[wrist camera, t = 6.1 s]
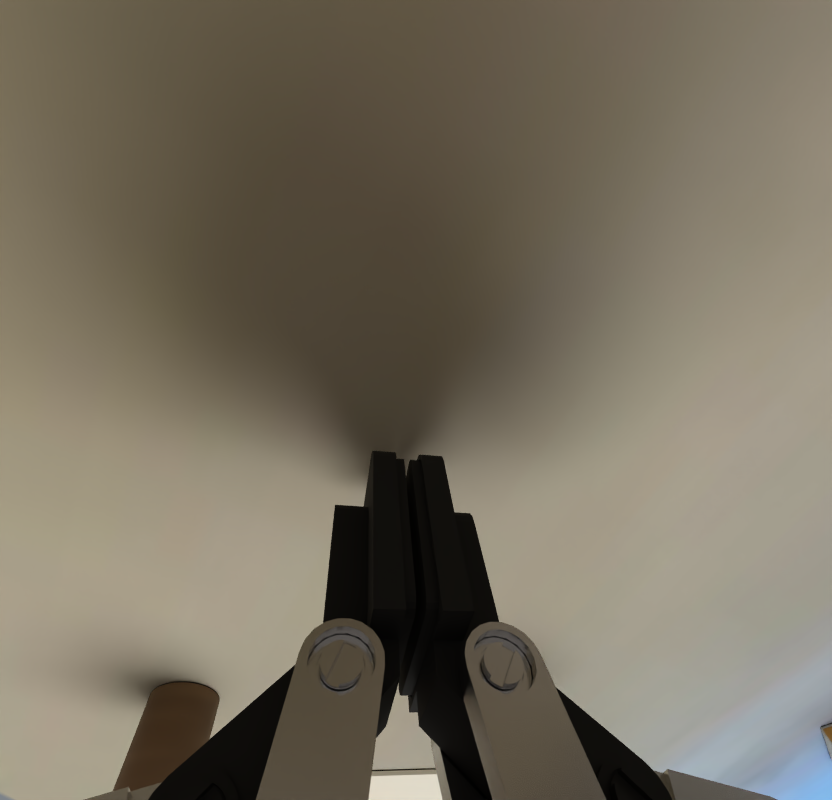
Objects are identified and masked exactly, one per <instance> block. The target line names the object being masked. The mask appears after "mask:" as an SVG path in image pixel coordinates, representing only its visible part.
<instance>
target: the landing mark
mask: <svg viewBox="0 0 832 800" xmlns="http://www.w3.org/2000/svg"><path fill="white" fill-rule="evenodd" d="M368 800H443V799H442V795H441V790H440V786H439V781H438V776H437V772H436V769H434V770H400V771H372V775H371V783H370V791H369V799H368Z"/></svg>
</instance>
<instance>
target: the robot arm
mask: <svg viewBox="0 0 832 800" xmlns="http://www.w3.org/2000/svg"><path fill="white" fill-rule="evenodd" d="M398 682H399V692H400V695H408V699H409V712H418V718H419V726H420V727H421V728H422V729H423V730H424V732H425V733H426V734H427V735H428V736H429V737H430V738H431V747H432V753H433V758H434V763H435V767H436V772H437V776H438V781H439V786H440V790H441V795H442V799H443V800H777V799H774V798H772V797H770V796H766V795H762V794H759V793H755V792H751V791H747V790H744V789H740V788H736V787H732V786H729V785H725V784H721V783H717V782H714V781H710V780H706V779H702V778H699V777H695V776H691V775H687V774H684V773H680V772H676V771H672V770H669V769H667V770H666V771H665V772H664V773H660V772H657V771H653V770H652V769H651V768H650V767H649V766H648V765H647V764H646V763H645V762H644V761H643V760H642V759H641V758H639V757H638V756H637V755H636V754H635V753H634V752H632V751H631V750H630V749H629V748H628V747H626V746H625V745H624V744H623V743H622V742H620V741H619V740H618V739H617V738H616V737H614V736H613V735H612V734H611V733H610V732H608V731H607V730H606V729H605V728H604V727H603V726H601V725H600V724H599V723H598V722H597V721H595V720H594V719H593V718H592V717H591V716H589V715H588V714H587V713H586V712H585V711H583V710H582V709H581V708H580V707H579V706H577V705H576V704H575V703H574V702H573V701H572V700H570V699H569V698H568V697H567V696H566V695H564V694H563V693H562V692H561V691H560V690H558V689H557V688H556V687H555V685H554V683H553V680H552V678H551V676H550V674H549V672H548V669H547V667H546V665H545V663H544V660H543V658H542V656H541V654H540V652H539V651H538V649H537V647H536V646H535V644H534V643H533V642H532V641H531V640H530V638H529V637H528V636H527V635H526V634H525V633H523V632H522V631H520V630H519V629H517V628H515V627H514V626H512V625H509V624H506V623H503V622H499V619H498V615H497V611H496V607H495V603H494V599H493V595H492V591H491V587H490V583H489V579H488V575H487V571H486V567H485V563H484V559H483V555H482V551H481V547H480V543H479V539H478V535H477V531H476V527H475V523H474V520H473V517H472V516H471V514H470V513H455V512H454V508H453V504H452V499H451V494H450V489H449V484H448V479H447V475H446V470H445V465H444V460H443V457H442V456H431V455H419V456H418V459H417V460H410V461H409V465H408V470H407V475H405V464H404V459H396V453H395V452H383V451H372V455H371V462H370V468H369V475H368V482H367V488H366V495H365V501H364V507H359V506H344V505H335V511H334V520H333V530H332V540H331V550H330V560H329V570H328V580H327V590H326V600H325V610H324V620H323V624H321V625H319V626H318V627H316V628H315V629H314V630H313V631H312V632H311V633H310V634H309V635H308V636H307V637H306V639H305V640H304V642H303V645H302V647H301V649H300V651H299V654H298V658H297V661H296V664H295V665H294V666H293V667H292V668H291V669H290V670H289V671H288V672H286V673H285V674H284V675H283V676H282V677H281V678H280V679H278V680H277V681H276V682H275V683H274V684H273V685H272V686H270V687H269V688H268V689H267V690H266V691H265V692H263V693H262V694H261V695H260V696H259V697H258V698H257V699H255V700H254V701H253V702H252V703H251V704H250V705H249V706H247V707H246V708H245V709H244V710H243V711H242V712H241V713H239V714H238V715H237V716H236V717H235V718H234V719H233V720H231V721H230V722H229V723H228V724H227V725H226V726H225V727H223V728H222V729H221V730H220V731H219V732H218V733H216V734H215V735H214V736H213V737H212V738H211V739H210V740H208V741H207V742H206V743H205V744H204V745H203V746H202V747H200V748H199V749H198V750H197V751H196V752H195V753H194V754H192V755H191V756H190V757H189V758H188V759H187V760H186V761H184V762H183V763H182V764H181V765H180V766H179V767H178V768H176V769H175V770H174V771H173V772H172V773H171V774H169V775H168V776H167V777H166V779H165V780H164V781H163V782H161V783H157V784H154V785H151V786H147V787H144V788H140V789H137V790H134V791H130V789H129V787H126V788H123V789H119V790H116V791H112V792H109V793H105V794H102V795H99V796H95V797H92V798H88V799H85V800H368V799H369V791H370V783H371V775H372V766H373V758H374V750H375V742H376V738H377V736H378V735H379V734H380V733H381V732H382V730H383V729H384V728H385V727H386V724H387V721H388V717H389V714H390V710H391V707H392V703H393V700H394V696H395V693H396V689H397V686H398Z"/></svg>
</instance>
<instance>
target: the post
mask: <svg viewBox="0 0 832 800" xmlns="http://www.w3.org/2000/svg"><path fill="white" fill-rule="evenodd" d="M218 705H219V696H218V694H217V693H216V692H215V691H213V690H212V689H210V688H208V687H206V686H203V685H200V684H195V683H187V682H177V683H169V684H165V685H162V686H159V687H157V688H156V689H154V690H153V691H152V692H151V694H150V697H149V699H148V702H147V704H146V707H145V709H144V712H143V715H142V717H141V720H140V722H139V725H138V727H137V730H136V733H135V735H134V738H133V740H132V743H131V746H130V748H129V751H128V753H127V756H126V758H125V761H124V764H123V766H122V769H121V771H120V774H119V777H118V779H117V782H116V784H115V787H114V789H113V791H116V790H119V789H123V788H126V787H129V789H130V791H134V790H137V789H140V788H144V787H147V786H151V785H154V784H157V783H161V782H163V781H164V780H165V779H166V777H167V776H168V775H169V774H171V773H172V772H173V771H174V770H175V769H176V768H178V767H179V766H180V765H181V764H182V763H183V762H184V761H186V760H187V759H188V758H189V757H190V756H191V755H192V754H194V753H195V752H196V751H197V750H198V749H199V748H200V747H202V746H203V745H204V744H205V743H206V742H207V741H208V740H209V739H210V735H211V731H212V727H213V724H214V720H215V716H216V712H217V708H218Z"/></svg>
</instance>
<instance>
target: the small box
mask: <svg viewBox="0 0 832 800" xmlns="http://www.w3.org/2000/svg"><path fill="white" fill-rule="evenodd" d="M821 730H822V733H823V736H824V739H825V742H826V745H827V748H828V751H829V754H830V757H831V760H832V724H829V725H826V726H823V727H821Z"/></svg>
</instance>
